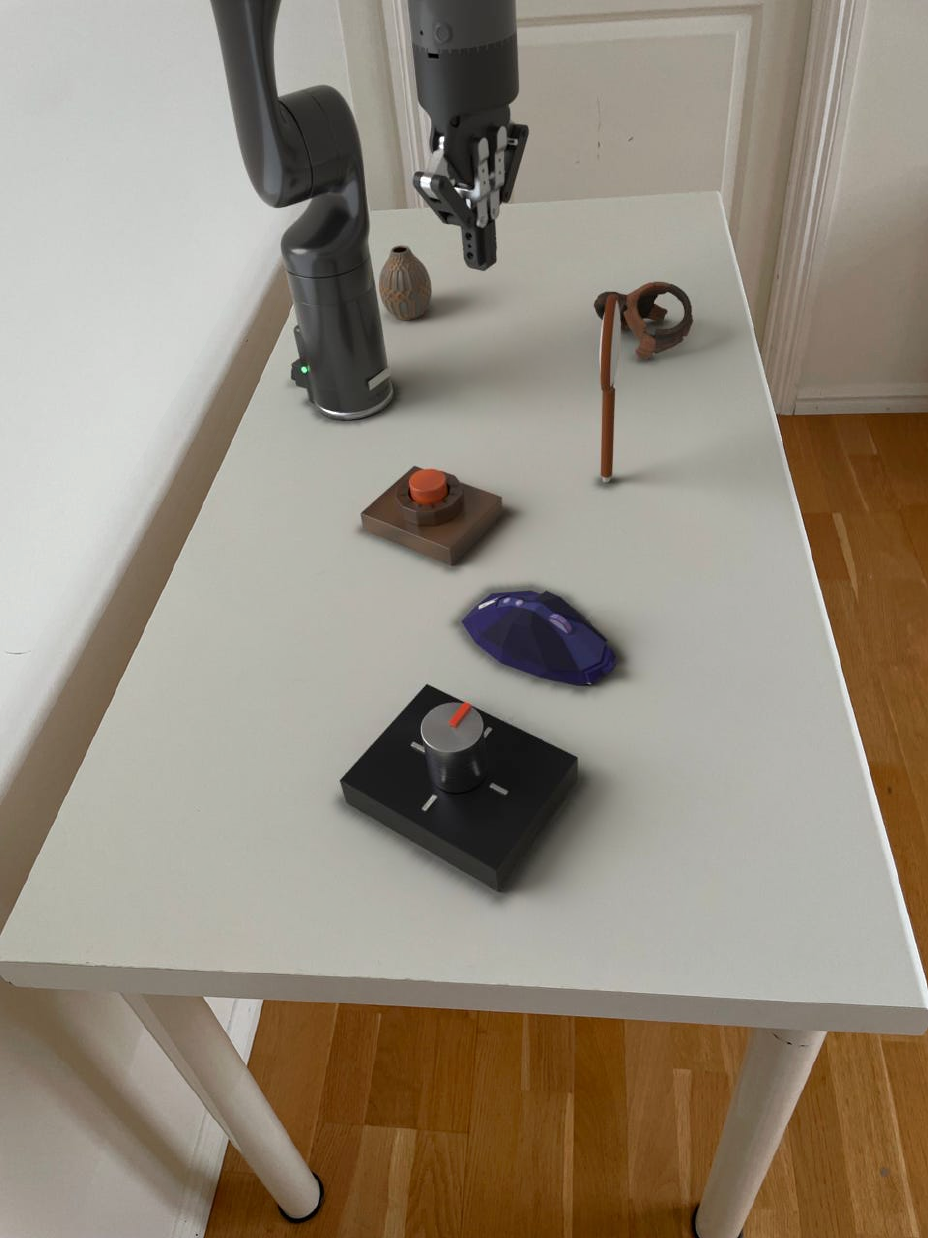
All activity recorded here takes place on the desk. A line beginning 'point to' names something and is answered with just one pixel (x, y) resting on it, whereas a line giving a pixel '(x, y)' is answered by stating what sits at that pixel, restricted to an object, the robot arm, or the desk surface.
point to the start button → (428, 486)
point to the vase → (404, 284)
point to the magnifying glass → (609, 380)
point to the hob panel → (469, 821)
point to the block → (433, 518)
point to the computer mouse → (540, 637)
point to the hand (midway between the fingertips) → (481, 265)
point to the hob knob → (455, 747)
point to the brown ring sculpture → (649, 316)
